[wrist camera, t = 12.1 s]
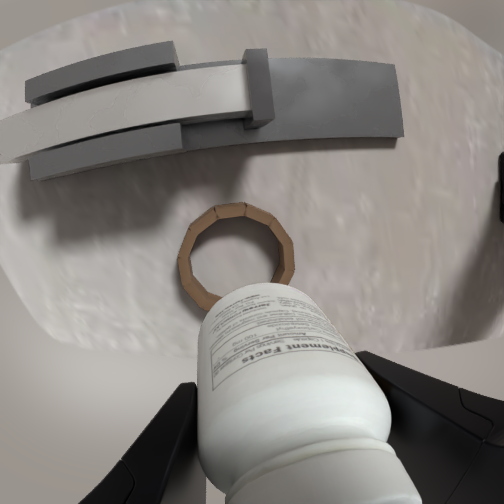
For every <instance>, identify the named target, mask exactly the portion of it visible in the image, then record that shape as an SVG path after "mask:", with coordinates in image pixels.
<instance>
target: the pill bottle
mask: <svg viewBox="0 0 504 504" xmlns="http://www.w3.org/2000/svg"><path fill="white" fill-rule="evenodd" d="M390 428H391V411H390V407H389V404H388V401H387V399H386V397H385V395H384V393H383V392H382V390H381V389H380V387H379V386H378V384H377V383H376V381H375V380H374V379H373V377H372V376H371V374H370V373H369V372H368V370H367V369H366V368H365V367H364V365H363V364H362V362H361V361H360V360H359V359H358V357H357V356H356V354H355V353H354V352H353V350H352V349H351V348H350V347H349V345H348V344H347V342H346V341H345V340H344V339H343V337H342V336H341V335H340V333H339V332H338V331H337V329H336V328H335V327H334V326H333V325H332V323H331V322H330V321H329V320H328V318H327V317H326V316H325V315H324V313H323V312H322V311H321V309H320V308H319V307H318V306H317V305H316V304H315V302H314V301H313V300H312V299H311V298H309V297H308V296H307V295H306V294H304V293H303V292H301V291H299V290H297V289H295V288H293V287H291V286H287V285H283V284H278V283H258V284H252V285H248V286H244V287H242V288H239V289H237V290H234V291H233V292H231V293H229V294H227V295H226V296H224V297H223V298H221V299H220V300H219V301H218V302H217V303H215V305H214V306H213V307H212V308H211V309H210V311H209V312H208V314H207V315H206V317H205V319H204V320H203V323H202V325H201V328H200V331H199V336H198V362H197V441H198V457H199V461H200V465H201V467H202V470H203V472H204V473H205V475H206V476H207V478H208V479H209V480H210V481H211V483H212V484H213V485H214V486H215V487H216V488H217V489H219V490H220V491H222V492H223V493H225V494H226V497H225V504H422V500H421V497H420V495H419V493H418V491H417V489H416V488H415V486H414V484H413V482H412V480H411V479H410V477H409V475H408V473H407V472H406V470H405V468H404V466H403V465H402V463H401V461H400V460H399V459H398V458H397V456H396V454H395V451H394V449H393V448H392V447H391V446H390V445H389V444H388V443H386V442H387V440H388V437H389V433H390Z"/></svg>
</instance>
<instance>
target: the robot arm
mask: <svg viewBox="0 0 504 504" xmlns="http://www.w3.org/2000/svg"><path fill="white" fill-rule="evenodd" d="M501 222H502V223H504V152H502V153H501ZM355 354H356V356H357V357H358V359H359V360H360V361H361V362H362V364H363V365H364V367H365V368H366V369H367V370H368V372H369V373H370V374H371V376H372V377H373V379H374V380H375V381H376V383H377V384H378V386H379V387H380V389H381V390H382V392H383V393H384V395H385V397H386V399H387V401H388V404H389V407H390V411H391V428H390V433H389V437H388V440H387V442H386V443H388V444H389V445H390V446H391V447H392V448H393V449H394V451H395V454H396V456H397V458H398V459H399V460H400V461H401V463H402V465H403V466H404V468H405V470H406V472H407V473H408V475H409V477H410V479H411V480H412V482H413V484H414V486H415V488H416V489H417V491H418V493H419V495H420V497H421V500H422V504H504V401H502V400H497V399H494V398H490V397H487V396H483V395H480V394H477V393H474V392H471V391H468V390H466V389H463V388H458V387H457V386H455V385H452V384H449V383H446V382H444V381H441V380H439V379H436V378H433V377H431V376H428V375H425V374H423V373H420V372H418V371H415V370H412V369H410V368H407V367H405V366H402V365H400V364H397V363H395V362H392V361H390V360H387V359H385V358H382V357H380V356H377V355H375V354H373V353H370V352H368V351H361V352H357V353H355ZM78 504H206V475H205V473H204V472H203V470H202V467H201V465H200V461H199V457H198V441H197V386H196V384H195V383H194V382H188V383H181V384H180V385H179V386H178V387H177V388H176V390H175V391H174V392H173V394H172V395H171V396H170V397H169V399H168V400H167V401H166V402H165V404H164V405H163V406H162V408H161V409H160V410H159V411H158V413H157V414H156V415H155V416H154V418H153V419H152V420H151V421H150V423H149V424H148V425H147V426H146V428H145V429H144V430H143V431H142V433H141V434H140V435H139V437H138V438H137V439H136V440H135V442H134V443H133V444H132V445H131V446H130V448H129V449H128V450H127V451H126V453H125V454H124V455H123V456H122V458H121V460H119V461H118V462H117V464H116V465H115V466H114V467H113V469H112V470H111V471H110V472H109V473H108V474H107V475H106V477H105V478H104V479H103V480H102V481H101V482H100V483H99V484H98V485H97V486H96V487H95V488H94V489H93V490H92V491H91V492H90V493H89V494H88V495H87V496H86V497H85V498H84V499H83V500H81V501H80V503H78Z"/></svg>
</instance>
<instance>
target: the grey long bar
mask: <svg viewBox="0 0 504 504" xmlns="http://www.w3.org/2000/svg"><path fill="white" fill-rule="evenodd" d="M242 117H244V124H245V129H250V128H262V127H264V126H265V125H267V124H268V123H270V122H271V121H273V120H274V119H275V112H274V103H273V95H272V86H271V78H270V70H269V62H268V55H267V48H266V49H246V50H245V52H244V55H243V58H242V61H241V64H240V65H228V66H217V67H207V68H199V69H191V70H184V71H177V72H170V73H164V74H158V75H153V76H147V77H142V78H137V79H132V80H128V81H123V82H119V83H115V84H110V85H106V86H102V87H98V88H95V89H91V90H87V91H84V92H80V93H77V94H73V95H70V96H67V97H63V98H60V99H57V100H54V101H51V102H48V103H45V104H42V105H39V106H37V107H34V108H31V109H28V110H26V111H23V112H21V113H18V114H15V115H13V116H10V117H8V118H6V119H3V120H1V121H0V164H9V163H20V162H23V161H26V160H28V157H31V156H34V155H38V154H41V153H44V152H48V151H51V150H54V149H58V148H62V147H65V146H69V145H73V144H76V143H80V142H84V141H88V140H92V139H97V138H101V137H105V136H110V135H114V134H119V133H124V132H129V131H134V130H139V129H144V128H150V127H155V126H161V125H167V124H173V123H180V124H181V125H183V124H190V123H198V122H205V121H214V120H222V119H232V118H242Z"/></svg>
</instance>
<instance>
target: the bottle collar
mask: <svg viewBox="0 0 504 504" xmlns="http://www.w3.org/2000/svg"><path fill="white" fill-rule="evenodd" d="M238 216H247V217H249V218H252V219H254V220H256V221H259V222H261V223H263V224H266V225H267V226H268V227H269V228H270V230H271V231H272V233H273V234H274V235H275V237H276V238H277V239H278V246H279V258H280V263H279V266H278V268H277V270H276V272H275V274H274V276H273V278H272V280H271V283H278V284H283V285H287V286H288V284H289V282H290V280H291V278H292V276H293V274H294V271H293V270H295V264H294V250H293V242H292V240H291V238H290V237H289V236H288V234H287V233H286V231H285V230H284V229H283V227H282V226H281V224H280V223H279V222H278V220H277V219H276V218H275V217H274V216H273V215H271V214H270V213H268V212H266V211H264V210H261V209H259V208H257V207H254V206H252V205H250V204H247V203H245V202H244V203H243V202H239V203H231V204H223V205H216V206H215V208H214V207H211V208H210V209H209V210H207V211H206V212H205V213H204V214H202V215H201V216H200V217H198V218H197V219H196V220H194V221H193V222H192V223H191V224H190V225H189V228H188V230H187V233H186V235H185V238H184V240H183V243H182V245H181V248H180V251H179V254H178V258H177V260H178V265H179V271H180V277H181V282H182V286H183V288H184V289H185V290H186V292H187V293H188V294H189V295H190V296H191V297H192V298H193V300H194V301H195V302H196V303H197V304H198V305H199V306H200V307H201V308H202V307H203V310H206V311H210V309H211V308H212V307H213V306H214V305H215V303H217V302H218V301H219V300H220V299H221V298H222V297H220V296H217V295H214V294H211V293H209V292H207V291H206V290H205V288H204V287H203V286H202V285H201V284H200V283H199V281H198V280H197V279H196V278H195V277H194V276H193V272H192V266H191V260H190V252H191V249H192V247H193V244H194V242H195V240H196V237H197V235H198V234H199V233H201V232H202V231H203V230H205V229H206V228H207V227H209V226H210V225H211V224H213V223H214V222H215V221H216V220H218V219H223V218H231V217H238Z"/></svg>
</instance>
